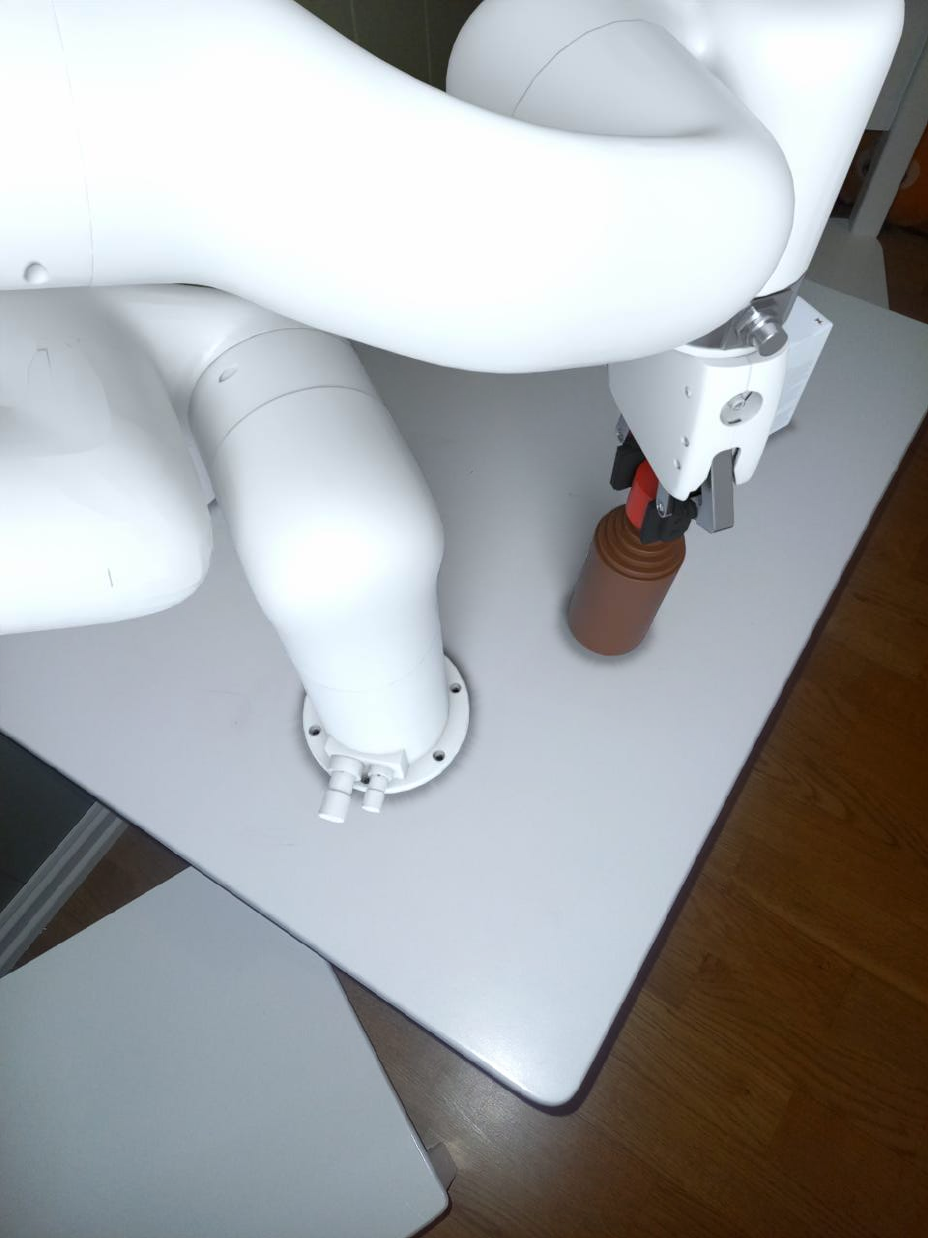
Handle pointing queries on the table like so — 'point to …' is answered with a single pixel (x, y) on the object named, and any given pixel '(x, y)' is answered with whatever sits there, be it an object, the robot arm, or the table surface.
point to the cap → (641, 493)
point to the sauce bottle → (621, 585)
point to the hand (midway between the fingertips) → (647, 506)
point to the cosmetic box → (800, 356)
